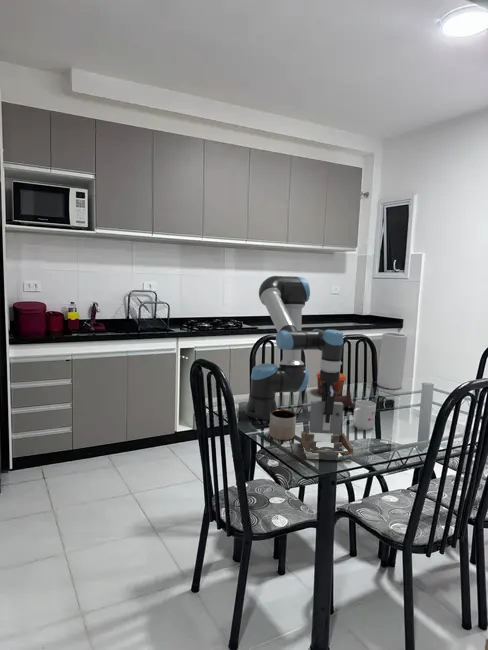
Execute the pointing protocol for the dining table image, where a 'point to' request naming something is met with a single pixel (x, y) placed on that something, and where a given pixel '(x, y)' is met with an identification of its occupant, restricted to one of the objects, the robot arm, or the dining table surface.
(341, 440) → the carcass
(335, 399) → the bracket
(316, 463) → the dining table surface
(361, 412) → the mug
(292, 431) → the planter
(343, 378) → the food container
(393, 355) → the vase
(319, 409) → the door
